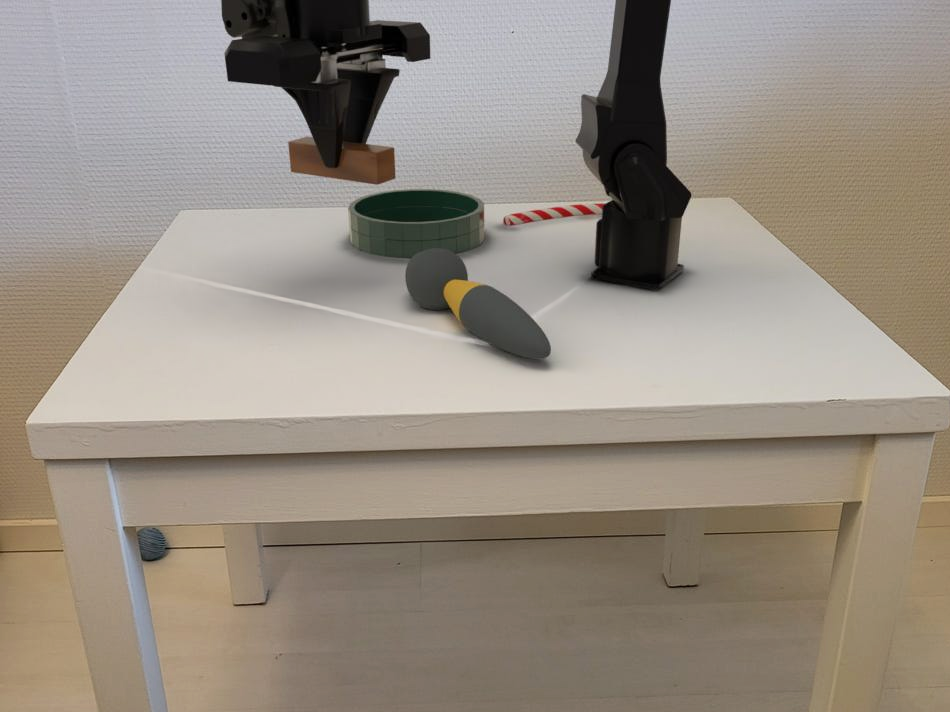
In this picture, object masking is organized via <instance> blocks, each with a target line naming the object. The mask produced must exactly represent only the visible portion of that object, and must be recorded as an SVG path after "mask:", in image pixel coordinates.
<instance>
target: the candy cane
mask: <svg viewBox="0 0 950 712" xmlns="http://www.w3.org/2000/svg"><path fill="white" fill-rule="evenodd" d="M604 204H605V203H581V204H569V205H562V206H554V207H546V208H540V209H534V210H533V209H531V210H527V211H522V212H515V213H511V214H507V215H505V216H503V219H502V223H503V225H504V226H515V225H521V224H527V223H533V222H540V221H544V220H552V219H559V218H566V217H574V216H575V217H576V216H584V215H585V216H586V215H602V207H603V205H604Z"/></svg>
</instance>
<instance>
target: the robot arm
mask: <svg viewBox="0 0 950 712" xmlns="http://www.w3.org/2000/svg"><path fill="white" fill-rule="evenodd" d="M220 2H221V5H220V6H221V19H222V22H223V25H224V29H225V32H226V33H227V35H228V36H229V37H231V38H234V39H231V42H229V44H228V46H227V47H226V49H225V51H224V53H223V54H224V62H225V70H226V78H227V82H230V83H241V84H249V85H250V84H251V85H253V84H254V85H259V86H260V85H261V86H271V87H276V88H281V89H282V90H284V92H285V93H287V94H288V95H289V96H290V97H291V98H292V99H293V100H294V101H295V104H297V106H298V108H299V110H300V112H301V114H302V116H303V118H304V120H305V123H306V124H307V127H308V130H309V132H310V134H311V137H313V139H314V141H315V144H316V146H317V149H318V151H319V153H320V156H321V158H322V160H323V163H324V165H325V166H326V167H327V168H337V167H338V165H339V160H340V156H341V151H342V144H343V141H347V142H355V143H363V144H367V142H368V140H369V137H370V134H371V132H372V129H373V127H374V125H375V122H376V120H377V117H378V114H379V111H380V110H381V107H382V105H383V103H384V102H385V101H384V100H385V98H386V97H387V94H388V92H389V90H390V89H391V86H392V83H393V82H394V79H395V78H396V77H399V76H400V73H401V72H400V68H391V67H386V66H387V64H386V58H383V56H388V57H389V56H390V57H395V58H396V57H397V58H404V59H405V60H406V62H407V63H415V62H421V61H426V60H430V59H431V34H430V33H429V32H428V30H427V29H426V28H425V27H424V25H423V24H422V22H418V21H398V20H382V19H381V20H379V19H377V20H371V17H370V0H220ZM671 3H672V0H615V4H614V13H613V21H612V30H611V37H610V38H611V39H610V46H609V47H610V49H609V54H608V55H609V57H608V65H607V72H606V74H605V78H604V79H603V82H602V85H601V87H600V89H599V91H598V94H597V96H593V95H589V94H586V93H583V94H582V95H581V98H580V108H581V109H580V110H581V124H580V129H579V132H578V134H577V137H576V138H575V140H574V141H575V144H577V145H578V146H579V147H580V149H581V150H582V158H583V161H584V164H585V166H586V168H588V170H589V171H590V173H591V174H592V175H593V176H594V177H595V179H597V180H598V181H599V182H600V184H602V185H603V188H604V192H605V194H606V196H607V197H610V198H611V200H609V201H607V202H606V203H603V204H604V205H603V207H602V214H601V218H600V219H598V221H596V229H595V243H594V244H595V245H594V263H593V264H594V265H595V267H597V268H595V269H593V270H592V271H591V273H590V276H591V277H590V278H591V279H594V280H600V281H605V282H611V283H617V284H623V285H628V286H633V287H639V288H645V289H651V290H659V289H661V288H663V287H664V286H665V285H667V284H668V283H669V282H671V281H673V280H674V278H676V277H677V276H678V275H680V274H681V273H683V272H684V270H685V265H684V264H682V263H679V255H680V254H679V253H680V242H681V231H682V220H683V216H684V214H685V213H686V210H687V208H688V205H689V203H690V201H691V199H692V192H691V191H690V190H689V189H688V188H687V186H686V185H685V184H684V183H683V182H682V181H681V180H680V179H679V178H678V177H677V175H676V174H675V173H674V172H673V171H672V170H671V169H670V168H669V167H668V166H667V164H668V143H667V141H668V140H667V137H668V136H667V134H668V133H667V119H666V118H667V117H666V113H665V106H664V105H665V104H664V99H663V91H662V85H661V77H662V68H663V62H664V60H663V59H664V56H665V55H664V54H665V47H666V39H667V33H668V32H667V31H668V26H669V19H670V18H669V17H670V11H671ZM235 38H237V39H235Z"/></svg>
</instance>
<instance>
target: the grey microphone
mask: <svg viewBox="0 0 950 712" xmlns="http://www.w3.org/2000/svg"><path fill="white" fill-rule="evenodd" d="M404 279H405V285H406V289H407V292H408V294H409V296H410V297H411V299H412V300H413V301H414V302H415V304H417V305H418V306H419V307H421V308H423V309H426V310H430V311H443V310H447V309H451V311H452V313H453V314H454V316H455V317H456V318H457V320H458V321H459V322H460V323H461V324H462V326H463V328H464V327H465V329H467V331H469V332H470V333H472V334H474V335H475V336H477V337H478V338H480V339H481V340H483V341H485V342H487V343H488V344H490V345H492V346H493V347H496V348H499V349H501V350H503V351H505V352H508V353H511V354H513V355H516V356H519V357H523V358H526V359H534V360H542V359H545V358H548V357H550V355H551V352H552V347H551V343H550V341H549V339H548V336H547V334H545V332H544V330H543V329H542V328H541V327H540V325H539V324H538V323H537V322H536V320H535V319H534V318H533V317H532V316H530V314H529V313H528V312H527V311H526V310H524V309H523V308H522V307H521V306H520V305H519V304H518V303H517V302H515V301H514V300H513V299H511V298H510V297H509V296H507V295H506V294H505V293H502V292H501V291H500V290H498V289H496V288H495V287H492V286H491V285H488V284H484V283H480V282H475V281H470V280H469V275H468V269H467V266H466V264H465V263H464V261H463V259H462V258H461V257H460V256H459V255H458V254H455V253H454V252H452V251H450V250H447V249H441V248H433V249H427V250H424V251H422V252H419V253H417V254H416V255H414V256H413V257H412V258H409V260H408V262H407V264H406V268H405V277H404Z"/></svg>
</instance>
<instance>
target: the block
mask: <svg viewBox="0 0 950 712" xmlns="http://www.w3.org/2000/svg"><path fill="white" fill-rule="evenodd" d="M287 143H288V145H287V146H288V156H289V163H290V164H289V165H290V166H289V167H290V172H291V173H294V174H301V175H308V176H314V177H320V178H321V177H322V178H329V179H335V180H342V181H349V182H355V183H356V182H357V183H363V184H370V185H376V186H378V185H381V184H384V183H387V182H390V181H392V180H396V176H397V175H396V157H395V156H396V155H395V147H394V146H387V145H386V146H385V145H379V144H378V145H377V144H370V143H366V144H363V143H355V142H347V141H343V144H342V151H341V156H340V160H339V165H338V167H337V168H327V167H326V166H325V165H324V163H323V160H322V158H321V156H320V153H319V151H318V149H317V146H316V144H315V141H314V139H313V137H312V136H305V137H301V138H296V139H293V140H289V141H288V142H287Z"/></svg>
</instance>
